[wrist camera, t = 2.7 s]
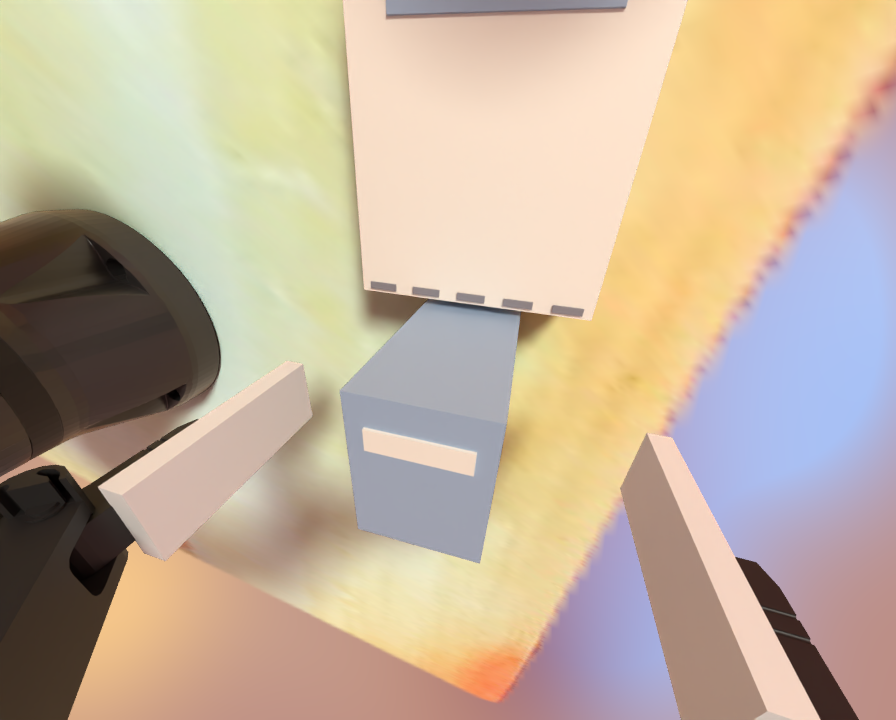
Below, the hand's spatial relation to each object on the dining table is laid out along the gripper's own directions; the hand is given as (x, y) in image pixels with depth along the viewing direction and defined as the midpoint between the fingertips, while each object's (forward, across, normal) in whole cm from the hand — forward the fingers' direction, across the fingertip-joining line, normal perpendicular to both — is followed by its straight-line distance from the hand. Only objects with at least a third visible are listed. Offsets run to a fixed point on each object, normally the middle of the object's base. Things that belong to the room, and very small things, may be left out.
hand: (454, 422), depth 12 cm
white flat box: (+8, 0, +10) cm, 13 cm away
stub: (+8, 0, 0) cm, 8 cm away
